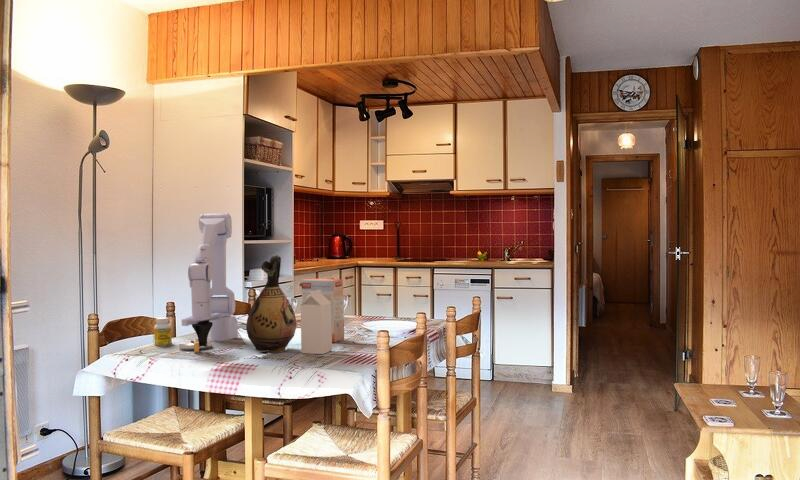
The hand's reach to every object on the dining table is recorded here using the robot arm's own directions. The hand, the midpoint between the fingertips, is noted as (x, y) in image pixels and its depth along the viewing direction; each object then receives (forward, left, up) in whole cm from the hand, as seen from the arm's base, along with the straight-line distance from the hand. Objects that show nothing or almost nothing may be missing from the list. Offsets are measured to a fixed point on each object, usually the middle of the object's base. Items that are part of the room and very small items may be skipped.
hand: (202, 345), depth 207 cm
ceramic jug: (-14, +16, -3) cm, 21 cm away
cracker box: (-36, +20, -3) cm, 41 cm away
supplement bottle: (-4, -22, -3) cm, 23 cm away
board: (-3, -6, -3) cm, 8 cm away
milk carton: (-17, +31, -3) cm, 35 cm away
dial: (-2, -5, -2) cm, 5 cm away
